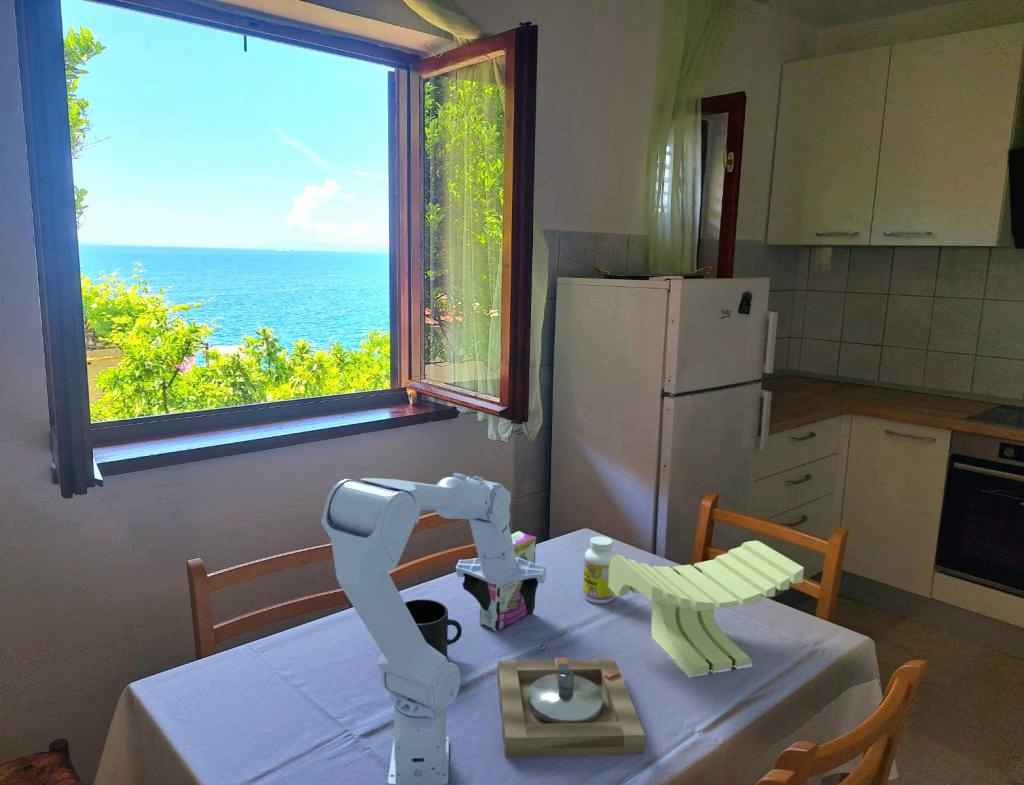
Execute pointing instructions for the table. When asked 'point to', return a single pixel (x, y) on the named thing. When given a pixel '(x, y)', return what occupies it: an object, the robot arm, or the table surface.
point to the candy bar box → (509, 590)
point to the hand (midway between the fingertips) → (509, 608)
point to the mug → (433, 623)
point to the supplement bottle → (598, 571)
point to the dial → (565, 697)
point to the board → (538, 738)
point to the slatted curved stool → (704, 600)
